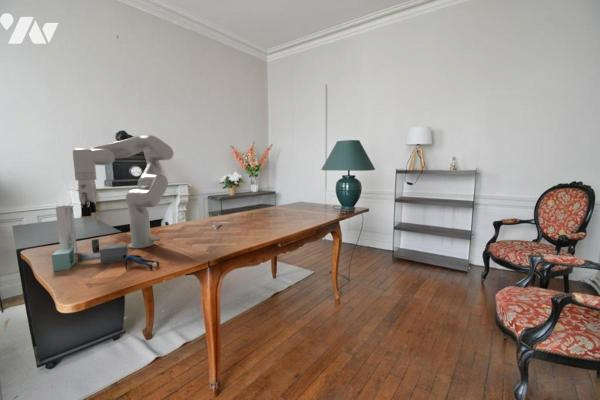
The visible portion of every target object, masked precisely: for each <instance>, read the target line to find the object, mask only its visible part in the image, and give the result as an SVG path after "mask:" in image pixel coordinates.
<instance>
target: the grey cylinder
mask: <svg viewBox="0 0 600 400" xmlns="http://www.w3.org/2000/svg"><path fill="white" fill-rule="evenodd" d="M55 213H56V222H57V231H58V232H57V233H58V242H59V249H65V248H74V255H76V254H78V245H77V235H76V226H75V225H76V224H75V217H74V216H75V215H74V208H73V206H72V205H71V204H58V205H56V206H55Z"/></svg>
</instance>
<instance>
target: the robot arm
mask: <svg viewBox="0 0 600 400" xmlns="http://www.w3.org/2000/svg"><path fill="white" fill-rule="evenodd" d="M139 153H143V154H144V155H143V156H144V158H145V161H146V167H145V169H144V170H143V172H142V174H141V176H140V177H139V179H138V181H137V187H138V188H139V189H138V188H137V189H136V188H134V189H131V190H129V191H127V193H126V194H125V202H126V205H127V206H126V207H127V209H128V214H129V215H128V216H129V229H130V230H129V231H130V243H128V244H127V248H129V249H144V248H148V247H152V246H153V245H154V244H155V242H159V241H160V237H158V236H156V237H152V234H151V225H150V224H151V223H150V212H149V210H148V208H154V207H157V206H158V205H159V204H160V202H161V200H162V198H163V196H164V194H165V193H166V191H167V189H168V185H169V184H168V183H169V181H168V178H167V177H166V176H165V175H164V174H162V172H163V168H162V165H161V163H160V161H169V160H172V158H173V157H174V150H173V148H172V147H171V146H170V145H169V144H168V143H166V142H164V141H163V140H162V139H160V138H159V137H157V136H154V135H152V134H151V135H149V134H148V135H146V134H145V135H135V136H132V137H129V138H126V139H122V140H119V141H114V142H110V143H106V144H100V145H96V146H93V147H89V148H74V149H73V150H72V159H73V169H74V179H75V181H77V185H78V189H77V190H78V198H79V202H80V210H81V211H80V212H81V217H91V216H92V214H94V213H97V208H96V207H97V206H96V205H97V204H96V201H98V192H97V185H96V180H98V179H97V171H96V170H97V169H96V166H110V165H111V164H113V163H114V162H115V159H124V158H128V157H132V156H134V155H137V154H139Z"/></svg>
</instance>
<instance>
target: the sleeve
mask: <svg viewBox="0 0 600 400" xmlns="http://www.w3.org/2000/svg"><path fill="white" fill-rule="evenodd" d="M99 250H100V257H101V259H100V265H106V264H107V265H108V264H113V263H122V262H125V259H124V258H123V255H127V256H129V252H128V251H129V249H128V242H125V243H117V244H115V243H114V244H107V245H102V246H101V247H100V248H99Z"/></svg>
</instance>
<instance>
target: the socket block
mask: <svg viewBox="0 0 600 400" xmlns="http://www.w3.org/2000/svg"><path fill="white" fill-rule="evenodd" d="M75 257H76V254H74V248H65V249H60V248H57V250H56V251H54V253H52V254H51V260H52V270H53V272H59V271H65V270H66V271H67V270H71V269H72V267H73V266H74V265H75V263H76V258H75Z"/></svg>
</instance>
